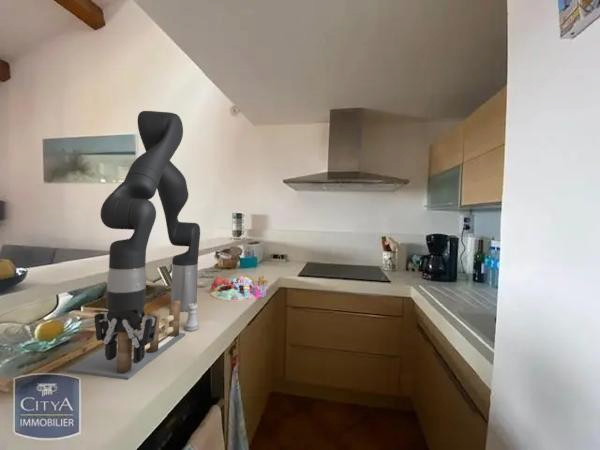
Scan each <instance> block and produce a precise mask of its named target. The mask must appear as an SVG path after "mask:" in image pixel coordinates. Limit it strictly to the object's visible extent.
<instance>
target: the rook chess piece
mask: <svg viewBox="0 0 600 450" xmlns="http://www.w3.org/2000/svg"><path fill="white" fill-rule="evenodd" d="M187 308H188V309H189V310H188V311H187V313H188V315H187V316H188V317H187V320H185V321H186V322H185V323H184V326H185V327H184V330H185V331H187V332H195V331H197V330H199V328H200V326H199V325H200V323H199V321H198V319H197V318H198V317H197V313H198V311H197V310H198V308H199V306H198V303H197V304H196V303H194V304H193V303H192V305H191V303H190V304H189V306H188V307H187Z"/></svg>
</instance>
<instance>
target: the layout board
mask: <svg viewBox="0 0 600 450" xmlns="http://www.w3.org/2000/svg"><path fill="white" fill-rule="evenodd" d="M134 332H137V329H136V330H135V331H134ZM160 333H161V330H159V334H160ZM185 336H186V333H185V332H179V335H178V336H176V337H170V336H169V334H168V335H167V337H165V338H162V339H161V340H159V344H158V351H157V352H154V353H147V352H146V350H145V353H144V354H145V356H144V358H143V359H142V360H141V361H140V362H139V363H137V364H136V363H133V359H132V366H131V369H130V370H129V371H126V372H117V355H118V340H116V341H117V355H116V357H115V358H113V359H112V360H107V359H106V356H105V347H104V348H101V349H100V350H99V351H97V352H95V353H93V354H91V355H90V356H88V357H86V358H84V359H82V360H80V361H79V362H78V363H76V364H73V365H71V366H70V367H68V368H67V369H66V372H67V373H73V374H74V373H75V374H81V375H83V374H84V375H90V376H97V377H105V378H112V379H113V378H114V379H118V380H119V379H122V380H129V379H131V378H132V377H133V376H134V375H136V374H137V373H139V372H140V371H141V370H142V369H144V368H145V367H146V366H148V365H149V364H150V363H151V362H153V361H154V360H155V359H157V358H158V357H159V356H161V355H162V354H163V353H164V352H166V351H167V350H168V349H169V348H171V347H172V346H173V345H175V344H176V343H177V342H178V341H180V340H181V339H183V338H184V337H185ZM133 350H134V344H133V345H132V351H133Z"/></svg>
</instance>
